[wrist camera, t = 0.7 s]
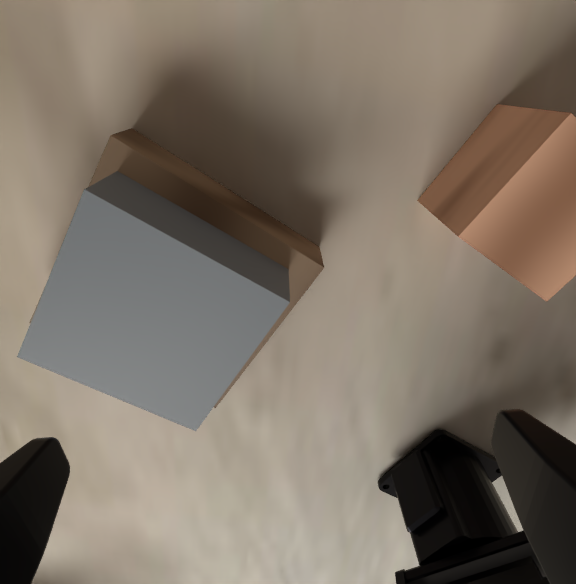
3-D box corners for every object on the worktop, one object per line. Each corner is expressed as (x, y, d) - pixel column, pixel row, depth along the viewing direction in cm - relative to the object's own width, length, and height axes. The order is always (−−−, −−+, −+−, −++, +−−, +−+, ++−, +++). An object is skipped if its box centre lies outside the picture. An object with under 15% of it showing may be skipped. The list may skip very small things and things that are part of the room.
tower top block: (288, 269, 18) (290, 302, 15) (206, 386, 21) (195, 431, 18) (117, 170, 16) (84, 189, 13) (54, 317, 19) (17, 356, 16)
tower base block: (318, 243, 20) (324, 267, 18) (222, 372, 24) (215, 408, 22) (135, 127, 18) (110, 135, 15) (60, 293, 22) (29, 323, 19)
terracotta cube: (569, 170, 19) (660, 199, 14) (489, 253, 20) (546, 301, 16) (495, 104, 17) (571, 112, 13) (416, 200, 19) (458, 236, 15)
